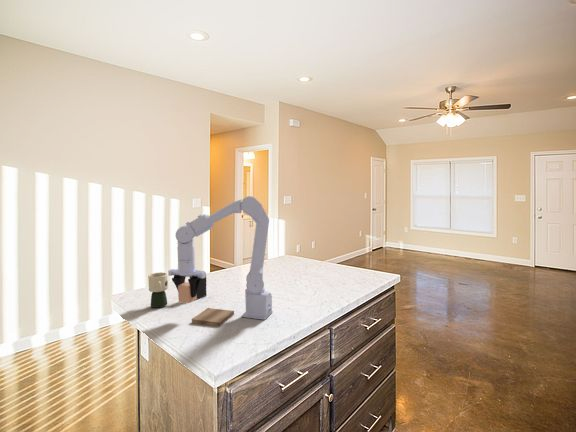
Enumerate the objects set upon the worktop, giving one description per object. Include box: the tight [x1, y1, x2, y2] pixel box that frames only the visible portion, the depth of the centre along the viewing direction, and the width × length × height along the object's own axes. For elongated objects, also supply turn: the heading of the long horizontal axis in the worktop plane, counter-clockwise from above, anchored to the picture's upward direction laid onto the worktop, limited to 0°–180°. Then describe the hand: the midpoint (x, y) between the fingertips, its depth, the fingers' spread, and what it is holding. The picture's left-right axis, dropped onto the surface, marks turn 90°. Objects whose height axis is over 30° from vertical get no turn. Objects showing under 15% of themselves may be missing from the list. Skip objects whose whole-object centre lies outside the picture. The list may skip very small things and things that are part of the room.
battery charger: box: [189, 270, 208, 300], centre depth 142 cm, size 7×4×11 cm, turn 145°
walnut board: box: [191, 307, 235, 328], centre depth 119 cm, size 11×11×2 cm
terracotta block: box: [177, 281, 198, 304], centre depth 118 cm, size 4×4×6 cm
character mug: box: [148, 272, 169, 308], centre depth 131 cm, size 11×7×13 cm, turn 28°
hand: (187, 296), depth 118 cm, fingers closed on terracotta block, 4 cm apart
